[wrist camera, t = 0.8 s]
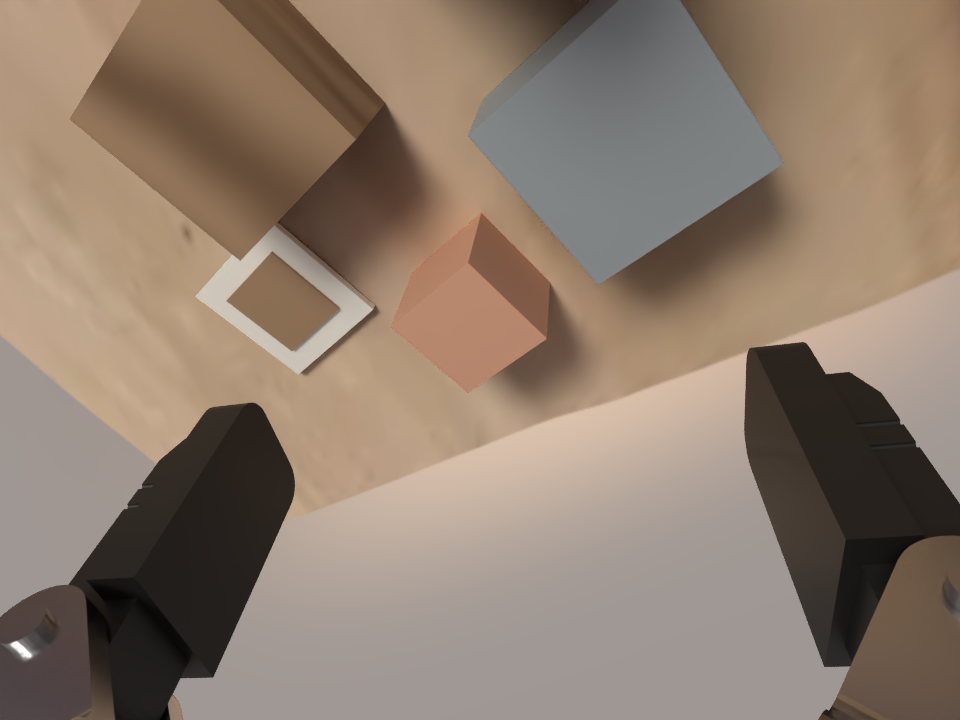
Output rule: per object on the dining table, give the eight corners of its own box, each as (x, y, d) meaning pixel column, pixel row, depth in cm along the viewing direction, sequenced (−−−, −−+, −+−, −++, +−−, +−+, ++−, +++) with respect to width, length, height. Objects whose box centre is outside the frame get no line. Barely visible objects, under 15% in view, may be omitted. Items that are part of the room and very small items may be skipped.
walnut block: (234, -60, 25) (170, -47, 21) (386, 101, 28) (356, 139, 24) (138, 85, 28) (69, 119, 24) (281, 212, 31) (240, 260, 27)
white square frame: (268, 213, 31) (263, 219, 31) (375, 305, 34) (372, 311, 33) (198, 292, 35) (193, 298, 34) (300, 370, 37) (297, 376, 37)
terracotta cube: (481, 212, 30) (467, 262, 26) (550, 281, 32) (547, 338, 28) (412, 272, 33) (390, 326, 29) (479, 333, 34) (468, 392, 30)
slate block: (643, -50, 23) (657, -35, 19) (752, 120, 26) (784, 163, 22) (483, 98, 27) (467, 136, 23) (595, 231, 30) (598, 285, 26)
